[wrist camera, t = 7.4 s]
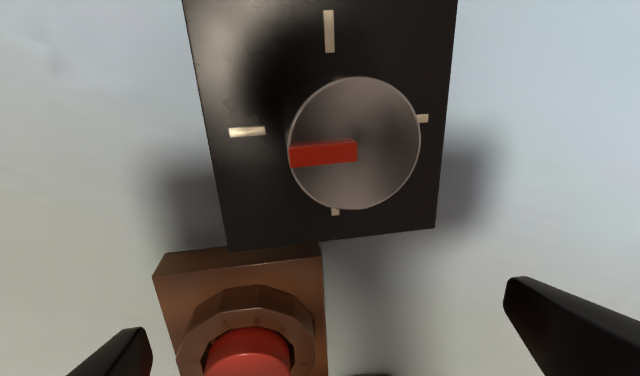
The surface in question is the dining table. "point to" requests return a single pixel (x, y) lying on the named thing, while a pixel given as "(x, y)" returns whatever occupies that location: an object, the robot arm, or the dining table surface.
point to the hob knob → (350, 140)
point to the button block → (244, 301)
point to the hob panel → (283, 80)
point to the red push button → (249, 354)
